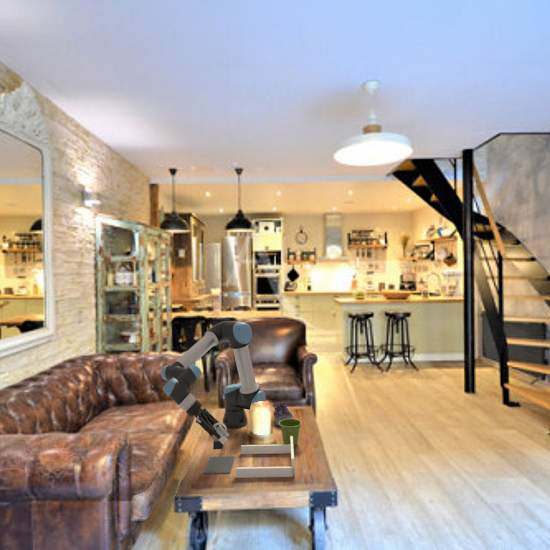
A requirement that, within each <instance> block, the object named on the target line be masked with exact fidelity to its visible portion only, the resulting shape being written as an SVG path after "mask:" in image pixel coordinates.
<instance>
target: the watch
mask: <svg viewBox="0 0 550 550" xmlns="http://www.w3.org/2000/svg"><path fill="white" fill-rule="evenodd" d="M217 425H220V426H221V427H223V429H224V430H225V433H224V435H223V436H224V437H225V435H226V432H227V433H228V427H226V426H225V425H224V424H223V423H222V422H220V423H216V424H214V425H213V427H214V428H215V429H216V427H217ZM210 438H211V439H212V440H213V443H212V444H213V447H212V450H224V445H225V444H224V445H223V444H222V443H221V442H220V441H219V440H218V439H217V438H216V437H215V436H214V435H213V436H210Z"/></svg>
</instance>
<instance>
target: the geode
mask: <svg viewBox="0 0 550 550" xmlns="http://www.w3.org/2000/svg"><path fill="white" fill-rule="evenodd" d="M273 417H274V422H275V425H276V426H278V428H279V427H280V424H279V422H280V421H281V420H284V419H293V414H292V413H291V412H290V411H289V409H288V407H287V403H286V402H284V403H281V402H280V404H278V405H276V407H274V411H273ZM280 428H281V427H280Z"/></svg>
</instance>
